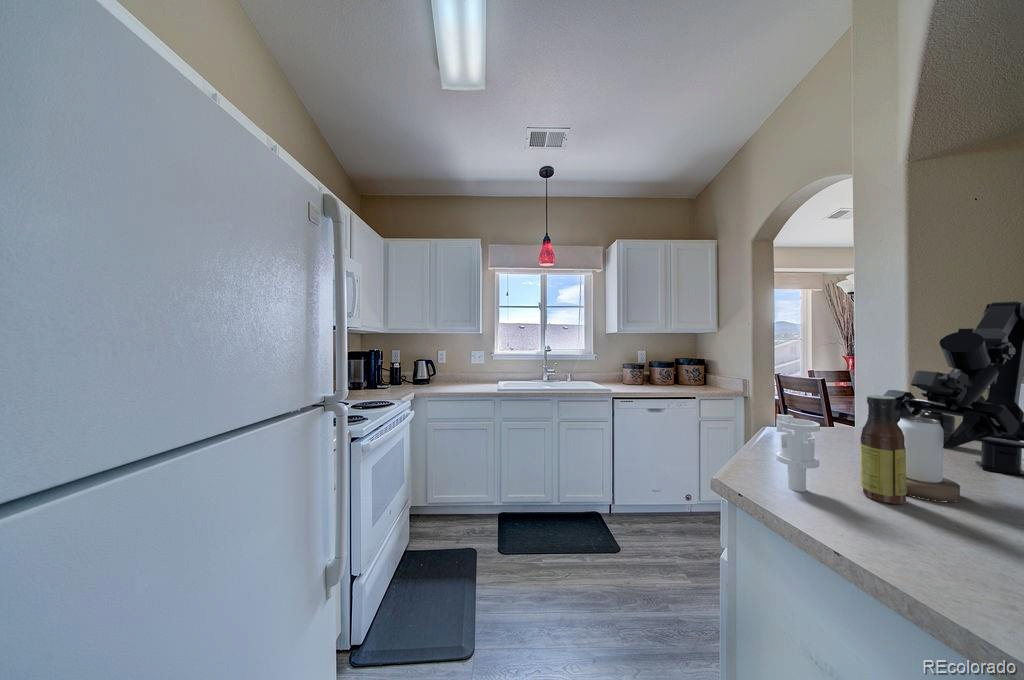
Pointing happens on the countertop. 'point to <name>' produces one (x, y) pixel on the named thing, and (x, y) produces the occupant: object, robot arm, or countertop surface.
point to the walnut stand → (934, 490)
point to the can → (923, 449)
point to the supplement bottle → (945, 420)
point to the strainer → (797, 449)
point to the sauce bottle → (883, 453)
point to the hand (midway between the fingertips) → (918, 439)
